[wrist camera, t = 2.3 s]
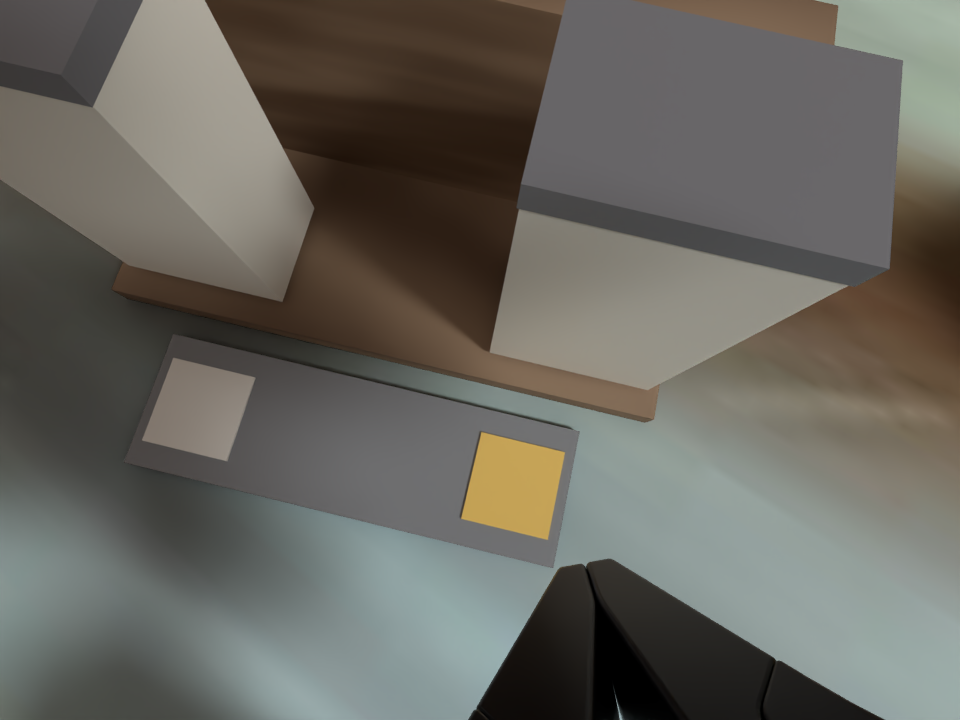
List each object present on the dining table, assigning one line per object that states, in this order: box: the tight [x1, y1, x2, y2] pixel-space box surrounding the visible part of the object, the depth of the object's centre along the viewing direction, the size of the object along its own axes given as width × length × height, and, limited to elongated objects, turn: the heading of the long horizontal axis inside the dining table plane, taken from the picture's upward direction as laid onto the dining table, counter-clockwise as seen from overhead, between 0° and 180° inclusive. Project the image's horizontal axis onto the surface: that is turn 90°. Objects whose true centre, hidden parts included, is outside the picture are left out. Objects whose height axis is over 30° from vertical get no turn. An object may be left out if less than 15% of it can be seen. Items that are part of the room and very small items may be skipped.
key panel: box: [111, 0, 838, 422], centre depth 18 cm, size 10×21×10 cm, turn 77°
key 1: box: [0, 0, 314, 302], centre depth 15 cm, size 4×6×12 cm
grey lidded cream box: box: [490, 0, 903, 390], centre depth 15 cm, size 4×6×12 cm
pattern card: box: [124, 334, 580, 568], centre depth 20 cm, size 5×16×1 cm, turn 77°
